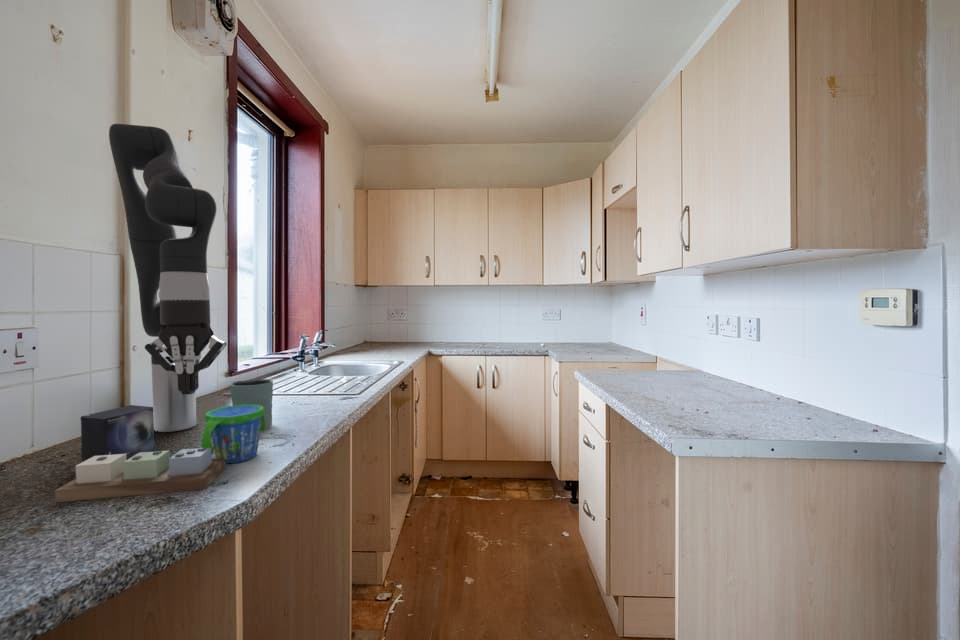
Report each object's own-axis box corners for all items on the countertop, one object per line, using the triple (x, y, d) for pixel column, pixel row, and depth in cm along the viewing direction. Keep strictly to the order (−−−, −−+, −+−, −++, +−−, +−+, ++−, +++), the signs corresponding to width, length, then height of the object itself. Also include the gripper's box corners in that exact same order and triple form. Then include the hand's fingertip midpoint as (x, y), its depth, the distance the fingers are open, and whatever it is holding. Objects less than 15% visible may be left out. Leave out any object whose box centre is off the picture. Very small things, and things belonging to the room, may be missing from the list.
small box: (106, 471, 85) (104, 417, 85) (79, 469, 86) (77, 416, 86) (156, 453, 95) (155, 405, 95) (132, 451, 97) (130, 404, 96)
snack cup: (224, 475, 83) (222, 421, 82) (182, 469, 86) (180, 417, 85) (284, 448, 97) (283, 403, 97) (247, 444, 101) (245, 400, 100)
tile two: (139, 471, 81) (138, 451, 81) (170, 469, 82) (169, 448, 82) (123, 482, 76) (123, 460, 76) (156, 479, 77) (155, 458, 77)
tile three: (182, 468, 82) (181, 448, 82) (211, 465, 83) (211, 445, 83) (169, 478, 77) (168, 457, 77) (201, 475, 78) (200, 454, 78)
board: (94, 478, 81) (94, 468, 81) (225, 467, 86) (225, 457, 86) (55, 502, 72) (55, 490, 72) (205, 488, 76) (204, 477, 76)
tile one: (95, 475, 79) (94, 454, 79) (127, 472, 80) (126, 451, 80) (76, 486, 74) (75, 464, 74) (110, 483, 75) (109, 461, 75)
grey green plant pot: (263, 432, 110) (261, 385, 109) (222, 433, 110) (220, 385, 109) (280, 422, 120) (279, 378, 119) (243, 422, 120) (242, 378, 119)
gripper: (232, 298, 84) (235, 388, 85) (154, 299, 81) (157, 391, 82) (218, 297, 77) (221, 395, 78) (131, 298, 74) (135, 400, 75)
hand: (188, 393), depth 80 cm, fingers closed
